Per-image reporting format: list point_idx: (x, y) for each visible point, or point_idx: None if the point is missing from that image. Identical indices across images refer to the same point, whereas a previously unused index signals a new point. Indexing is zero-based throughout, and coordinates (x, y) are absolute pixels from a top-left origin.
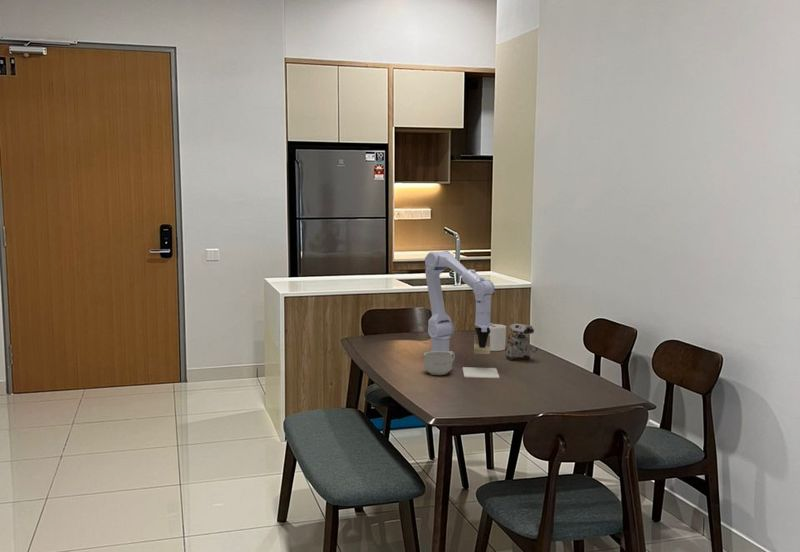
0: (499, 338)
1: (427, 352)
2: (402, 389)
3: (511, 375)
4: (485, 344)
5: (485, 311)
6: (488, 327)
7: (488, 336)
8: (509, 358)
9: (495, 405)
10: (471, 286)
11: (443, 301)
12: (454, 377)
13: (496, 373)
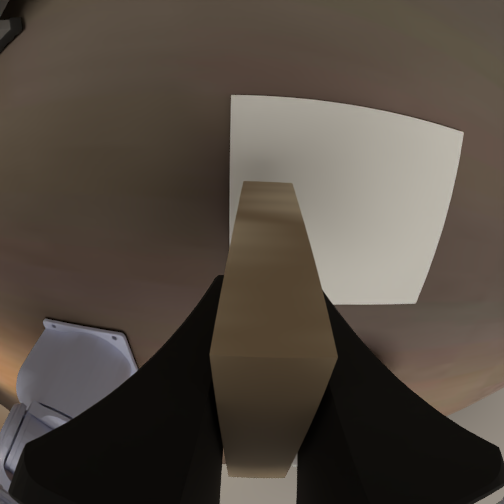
0: None
1: (295, 464)
2: (453, 410)
3: (398, 33)
4: (331, 304)
5: None
6: (19, 502)
7: (328, 376)
8: (10, 37)
9: None
10: None
11: None
12: (402, 333)
13: (387, 122)
